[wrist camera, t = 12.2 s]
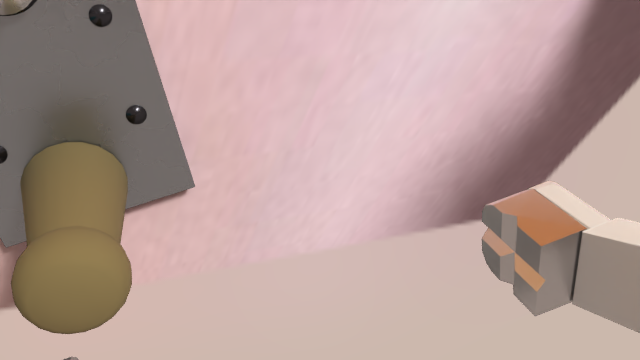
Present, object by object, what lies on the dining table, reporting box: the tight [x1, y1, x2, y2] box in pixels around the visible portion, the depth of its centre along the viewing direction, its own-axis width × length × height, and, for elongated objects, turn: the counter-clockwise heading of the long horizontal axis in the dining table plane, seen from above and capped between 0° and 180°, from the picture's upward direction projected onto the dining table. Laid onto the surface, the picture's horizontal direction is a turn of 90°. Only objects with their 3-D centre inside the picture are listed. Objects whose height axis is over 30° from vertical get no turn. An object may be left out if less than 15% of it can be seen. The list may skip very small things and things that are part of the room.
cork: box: [11, 142, 132, 334], centre depth 29 cm, size 6×6×11 cm
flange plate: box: [0, 0, 195, 247], centre depth 31 cm, size 12×18×1 cm, turn 9°
